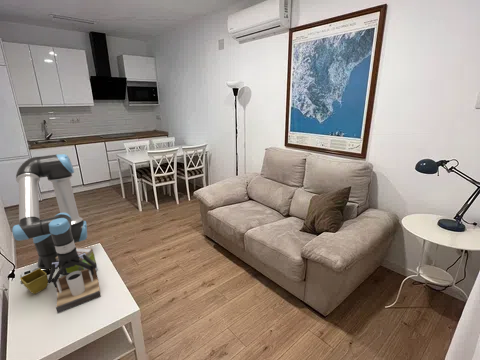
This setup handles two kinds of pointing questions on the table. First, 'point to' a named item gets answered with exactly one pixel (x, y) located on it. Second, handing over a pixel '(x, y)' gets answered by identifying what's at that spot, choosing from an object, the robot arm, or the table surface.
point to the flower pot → (35, 281)
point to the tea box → (80, 251)
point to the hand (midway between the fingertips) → (76, 285)
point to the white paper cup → (75, 283)
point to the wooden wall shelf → (70, 301)
